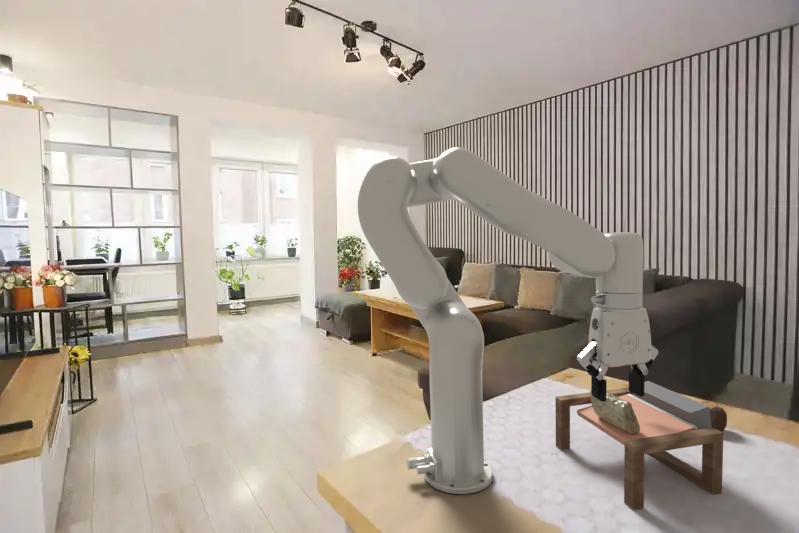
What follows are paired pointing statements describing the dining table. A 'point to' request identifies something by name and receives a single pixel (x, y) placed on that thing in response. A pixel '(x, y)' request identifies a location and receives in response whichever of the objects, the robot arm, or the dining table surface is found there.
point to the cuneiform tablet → (616, 412)
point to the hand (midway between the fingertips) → (617, 395)
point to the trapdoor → (655, 414)
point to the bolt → (718, 418)
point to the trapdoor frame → (652, 451)
